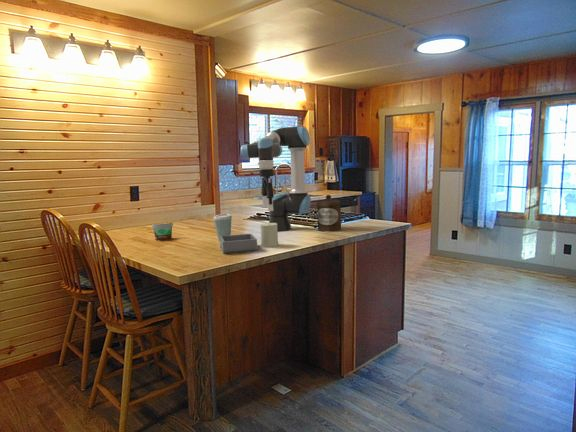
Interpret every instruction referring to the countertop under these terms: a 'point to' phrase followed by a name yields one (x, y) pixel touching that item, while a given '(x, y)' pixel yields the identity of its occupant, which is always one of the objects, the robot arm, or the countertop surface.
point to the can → (269, 235)
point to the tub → (238, 243)
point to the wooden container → (329, 214)
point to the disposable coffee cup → (223, 224)
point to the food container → (163, 231)
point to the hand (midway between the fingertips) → (267, 209)
